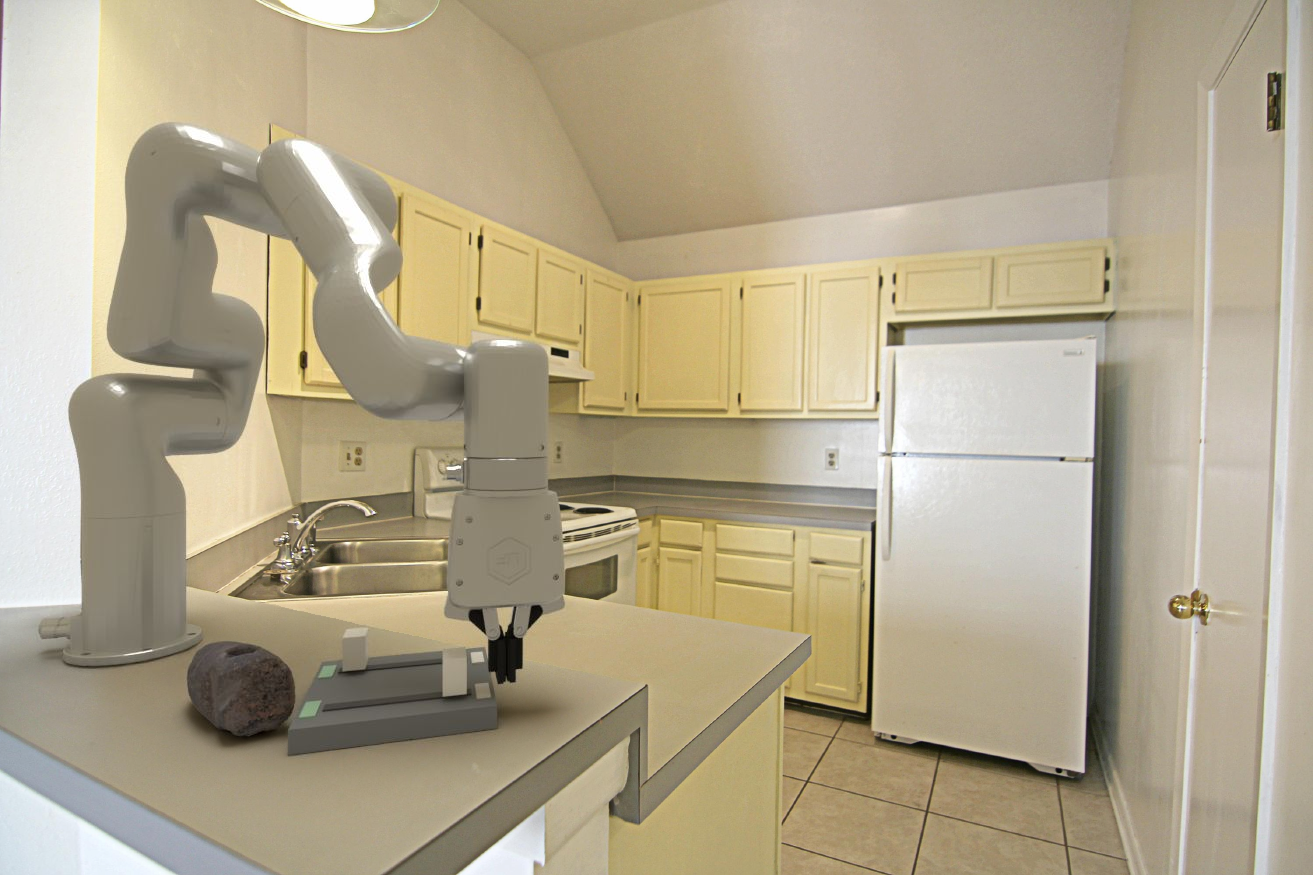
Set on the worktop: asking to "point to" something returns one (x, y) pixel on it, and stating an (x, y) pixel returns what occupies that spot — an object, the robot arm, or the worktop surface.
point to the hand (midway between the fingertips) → (505, 677)
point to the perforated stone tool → (241, 687)
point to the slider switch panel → (391, 703)
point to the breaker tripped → (454, 671)
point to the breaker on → (355, 649)
